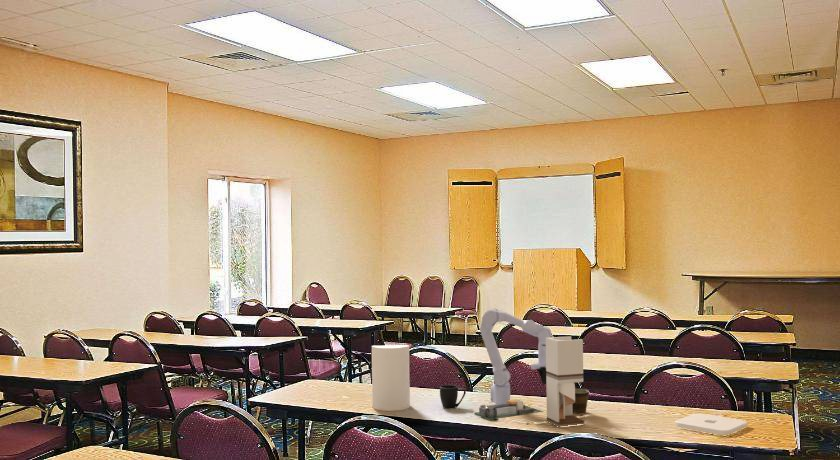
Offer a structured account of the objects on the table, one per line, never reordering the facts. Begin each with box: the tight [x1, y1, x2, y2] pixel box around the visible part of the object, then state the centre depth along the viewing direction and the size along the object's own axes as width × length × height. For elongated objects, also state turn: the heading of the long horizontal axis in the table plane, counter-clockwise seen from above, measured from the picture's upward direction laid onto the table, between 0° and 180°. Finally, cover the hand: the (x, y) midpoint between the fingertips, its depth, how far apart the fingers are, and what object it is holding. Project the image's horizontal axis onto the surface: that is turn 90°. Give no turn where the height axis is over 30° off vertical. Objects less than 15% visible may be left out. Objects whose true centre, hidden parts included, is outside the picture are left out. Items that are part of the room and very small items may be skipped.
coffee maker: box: [545, 336, 585, 428], centre depth 307 cm, size 11×11×35 cm
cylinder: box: [371, 344, 411, 412], centre depth 343 cm, size 17×17×28 cm
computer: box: [674, 412, 748, 435], centre depth 298 cm, size 22×22×3 cm
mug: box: [439, 384, 467, 410], centre depth 339 cm, size 8×12×10 cm
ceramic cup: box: [572, 388, 590, 415], centre depth 323 cm, size 13×10×10 cm
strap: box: [483, 404, 516, 410], centre depth 323 cm, size 4×15×1 cm, turn 118°
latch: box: [507, 399, 524, 412], centre depth 327 cm, size 5×5×5 cm
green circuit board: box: [473, 403, 544, 422], centre depth 325 cm, size 14×28×4 cm, turn 118°
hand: (545, 383), depth 338 cm, fingers closed
